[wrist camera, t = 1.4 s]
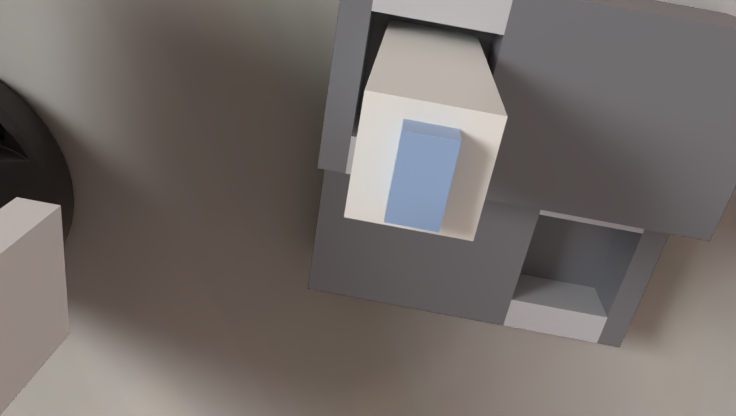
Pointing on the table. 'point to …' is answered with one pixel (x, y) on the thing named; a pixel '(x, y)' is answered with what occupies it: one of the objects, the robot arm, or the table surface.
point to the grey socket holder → (547, 161)
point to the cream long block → (426, 133)
